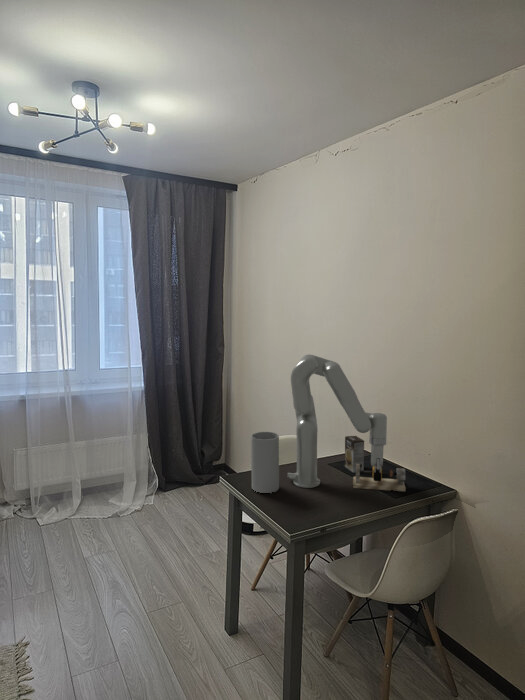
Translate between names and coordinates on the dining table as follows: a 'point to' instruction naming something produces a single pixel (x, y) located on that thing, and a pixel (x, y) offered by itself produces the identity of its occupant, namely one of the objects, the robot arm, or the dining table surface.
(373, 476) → the sleeve
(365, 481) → the cord rig
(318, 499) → the dining table surface
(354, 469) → the coffee box
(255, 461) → the cylinder vase
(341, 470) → the dining table surface
